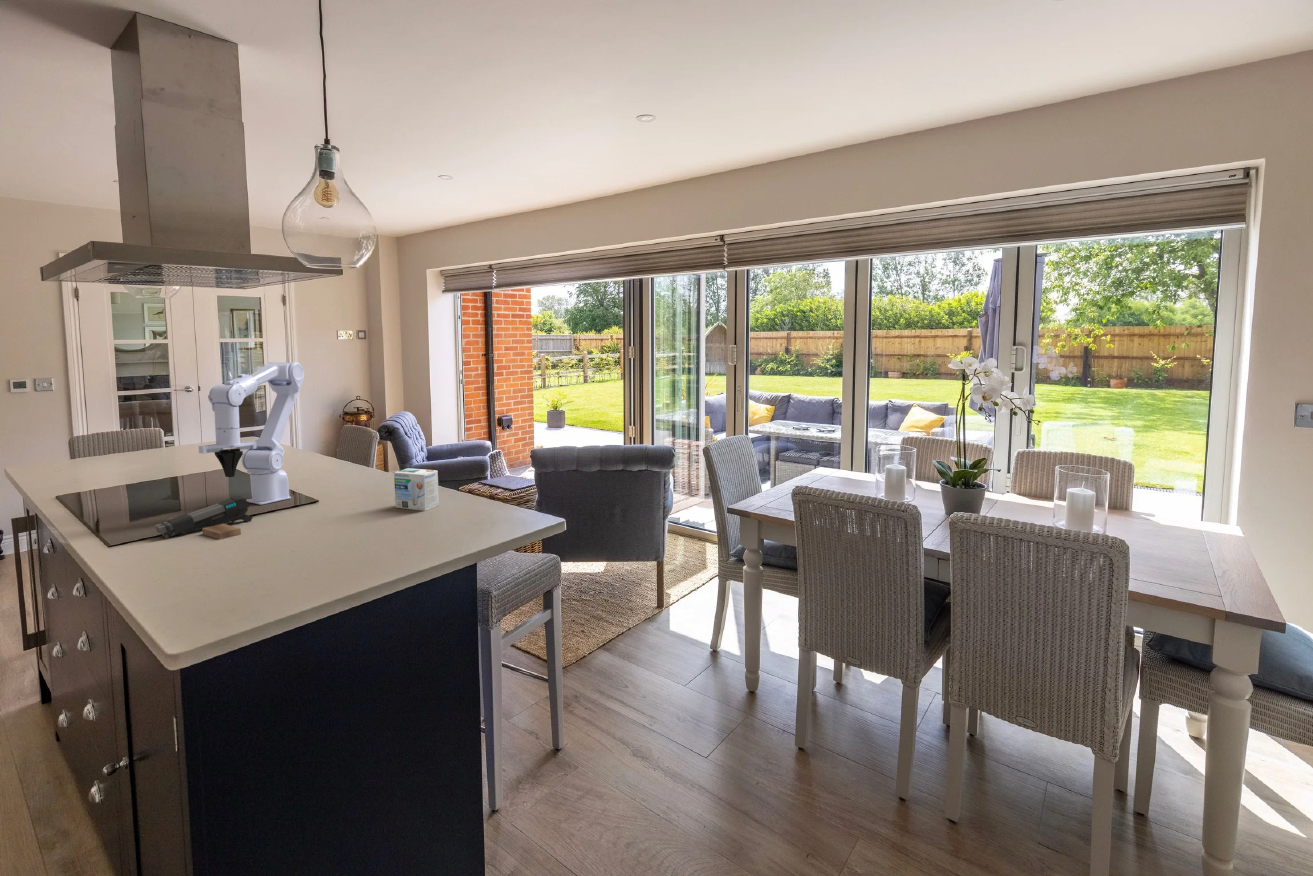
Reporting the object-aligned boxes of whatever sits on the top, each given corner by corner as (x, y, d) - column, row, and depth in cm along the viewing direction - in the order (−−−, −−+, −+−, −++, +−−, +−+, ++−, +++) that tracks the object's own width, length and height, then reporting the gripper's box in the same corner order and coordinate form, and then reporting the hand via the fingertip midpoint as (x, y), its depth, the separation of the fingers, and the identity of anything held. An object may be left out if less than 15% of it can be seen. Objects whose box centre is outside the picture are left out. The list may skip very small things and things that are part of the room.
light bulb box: (394, 508, 195) (392, 472, 194) (409, 502, 202) (407, 467, 200) (426, 511, 192) (424, 474, 190) (440, 505, 199) (438, 469, 197)
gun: (257, 520, 181) (240, 488, 177) (179, 562, 167) (159, 529, 163) (250, 517, 184) (233, 486, 179) (173, 558, 170) (153, 525, 166)
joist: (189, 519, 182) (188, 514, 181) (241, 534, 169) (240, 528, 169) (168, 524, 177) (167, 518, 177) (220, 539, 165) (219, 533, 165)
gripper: (208, 430, 178) (210, 481, 179) (262, 427, 190) (264, 474, 192) (193, 429, 181) (195, 479, 182) (247, 426, 194) (249, 472, 195)
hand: (229, 476), depth 187 cm, fingers closed
